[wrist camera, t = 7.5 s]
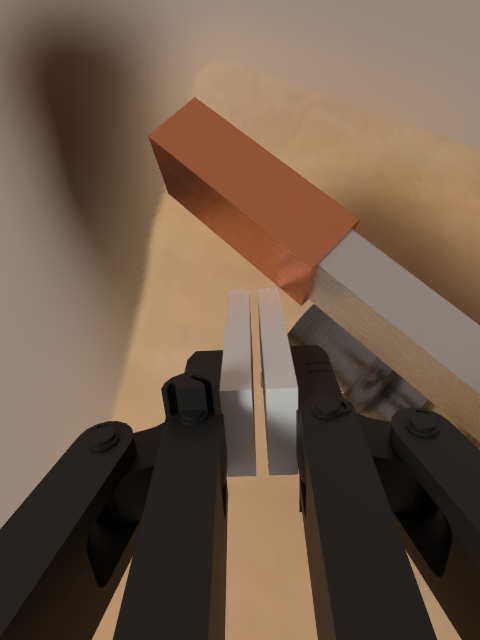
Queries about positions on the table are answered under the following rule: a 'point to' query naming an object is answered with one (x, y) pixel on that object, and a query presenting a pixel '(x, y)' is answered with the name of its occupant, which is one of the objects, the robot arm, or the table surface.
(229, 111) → the table surface
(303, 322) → the valve stand
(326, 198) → the valve lever
